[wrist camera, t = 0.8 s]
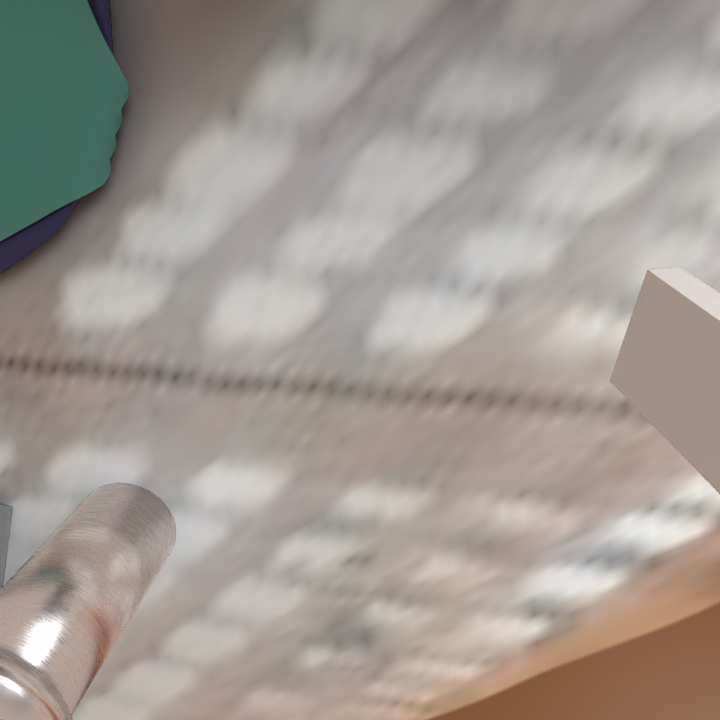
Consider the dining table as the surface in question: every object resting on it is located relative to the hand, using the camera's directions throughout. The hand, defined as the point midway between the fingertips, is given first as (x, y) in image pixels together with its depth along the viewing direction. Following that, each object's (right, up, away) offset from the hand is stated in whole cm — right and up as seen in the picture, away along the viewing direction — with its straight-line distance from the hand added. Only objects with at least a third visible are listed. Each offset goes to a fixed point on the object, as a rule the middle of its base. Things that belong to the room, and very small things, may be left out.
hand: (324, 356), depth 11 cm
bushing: (-11, -9, +20) cm, 24 cm away
